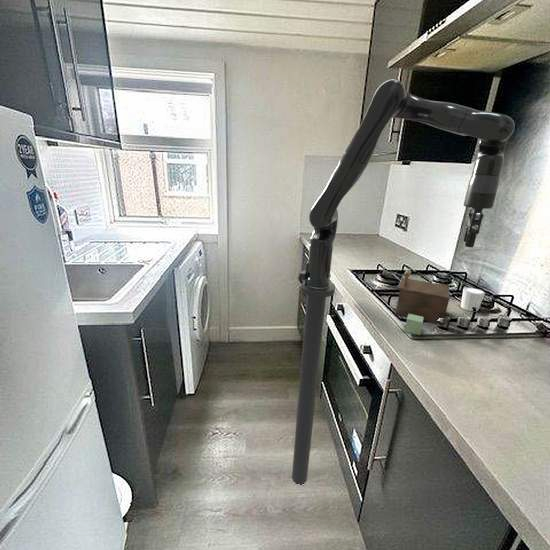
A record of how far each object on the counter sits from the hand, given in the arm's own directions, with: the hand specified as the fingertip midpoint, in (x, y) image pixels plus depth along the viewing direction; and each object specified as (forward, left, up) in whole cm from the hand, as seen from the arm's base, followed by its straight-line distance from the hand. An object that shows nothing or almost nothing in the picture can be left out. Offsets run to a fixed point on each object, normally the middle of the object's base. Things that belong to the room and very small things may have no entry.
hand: (468, 244), depth 95 cm
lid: (-10, -1, -17) cm, 20 cm away
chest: (-9, -1, -26) cm, 27 cm away
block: (-10, -17, -26) cm, 33 cm away
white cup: (+7, +14, -26) cm, 30 cm away
